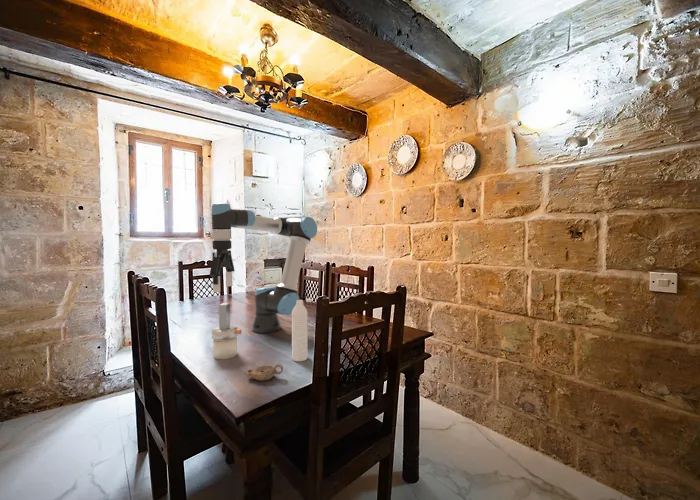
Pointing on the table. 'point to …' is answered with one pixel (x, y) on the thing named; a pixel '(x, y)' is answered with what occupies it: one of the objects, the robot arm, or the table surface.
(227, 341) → the jar
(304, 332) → the water bottle
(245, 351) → the table surface
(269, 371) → the oil lamp
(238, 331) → the lid
